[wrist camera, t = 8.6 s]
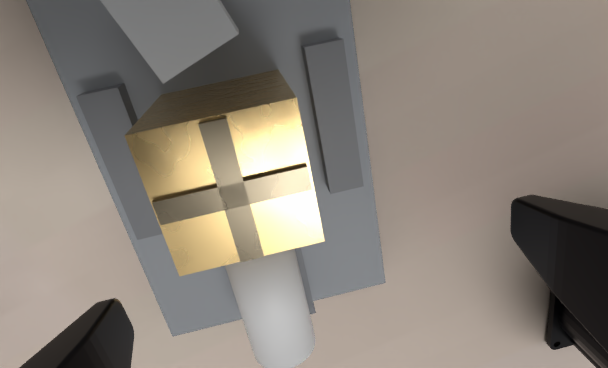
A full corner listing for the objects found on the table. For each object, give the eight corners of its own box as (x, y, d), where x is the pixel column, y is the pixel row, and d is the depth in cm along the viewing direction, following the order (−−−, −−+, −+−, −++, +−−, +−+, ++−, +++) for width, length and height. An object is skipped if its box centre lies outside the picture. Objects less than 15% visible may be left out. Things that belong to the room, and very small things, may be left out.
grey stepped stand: (377, 267, 24) (418, 343, 18) (176, 317, 23) (157, 411, 18) (320, -153, 16) (365, -240, 10) (3, -95, 15) (-132, -154, 9)
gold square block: (300, 175, 19) (325, 244, 14) (196, 199, 19) (178, 280, 13) (278, 69, 17) (297, 98, 12) (161, 94, 17) (122, 137, 11)
